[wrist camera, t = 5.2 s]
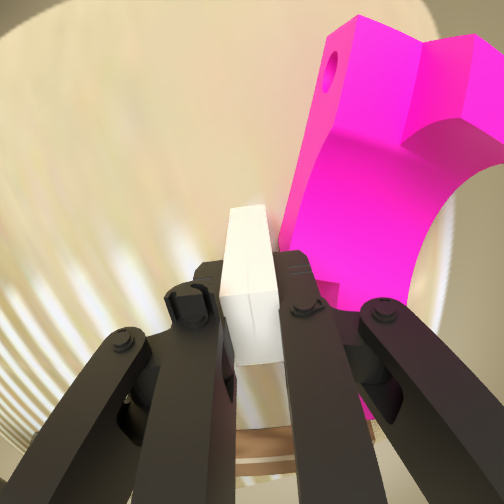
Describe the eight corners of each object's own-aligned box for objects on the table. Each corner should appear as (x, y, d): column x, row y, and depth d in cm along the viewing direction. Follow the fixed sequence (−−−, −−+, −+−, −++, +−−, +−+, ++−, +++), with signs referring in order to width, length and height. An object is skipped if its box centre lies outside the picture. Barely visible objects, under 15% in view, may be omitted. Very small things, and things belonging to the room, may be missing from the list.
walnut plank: (206, 452, 27) (204, 477, 24) (193, 431, 25) (190, 459, 22) (360, 436, 26) (366, 460, 23) (367, 413, 24) (375, 440, 21)
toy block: (325, 37, 11) (398, -11, 4) (437, 82, 12) (545, 94, 5) (258, 308, 18) (263, 418, 11) (354, 320, 19) (391, 417, 12)
